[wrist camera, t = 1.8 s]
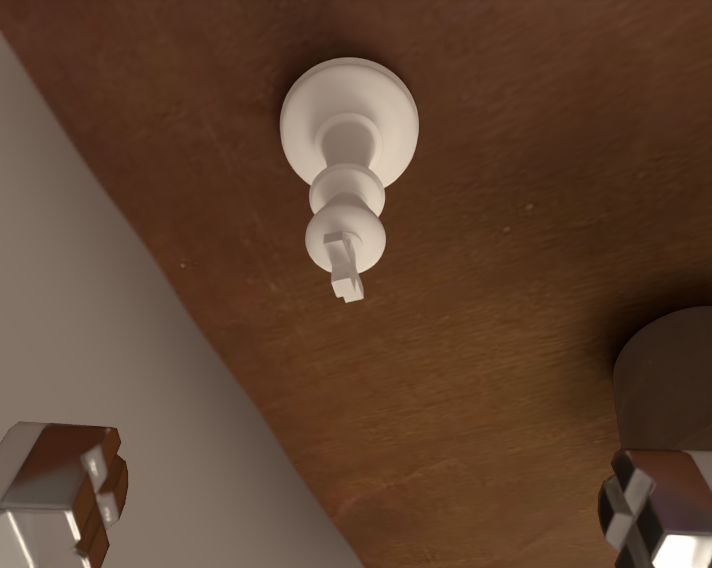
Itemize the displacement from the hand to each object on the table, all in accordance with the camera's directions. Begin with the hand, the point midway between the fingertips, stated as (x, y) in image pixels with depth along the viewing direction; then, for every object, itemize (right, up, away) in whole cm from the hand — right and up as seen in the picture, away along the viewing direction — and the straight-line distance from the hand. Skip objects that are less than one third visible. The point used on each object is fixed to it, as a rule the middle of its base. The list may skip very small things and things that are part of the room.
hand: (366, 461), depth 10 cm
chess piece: (0, +9, +12) cm, 15 cm away
